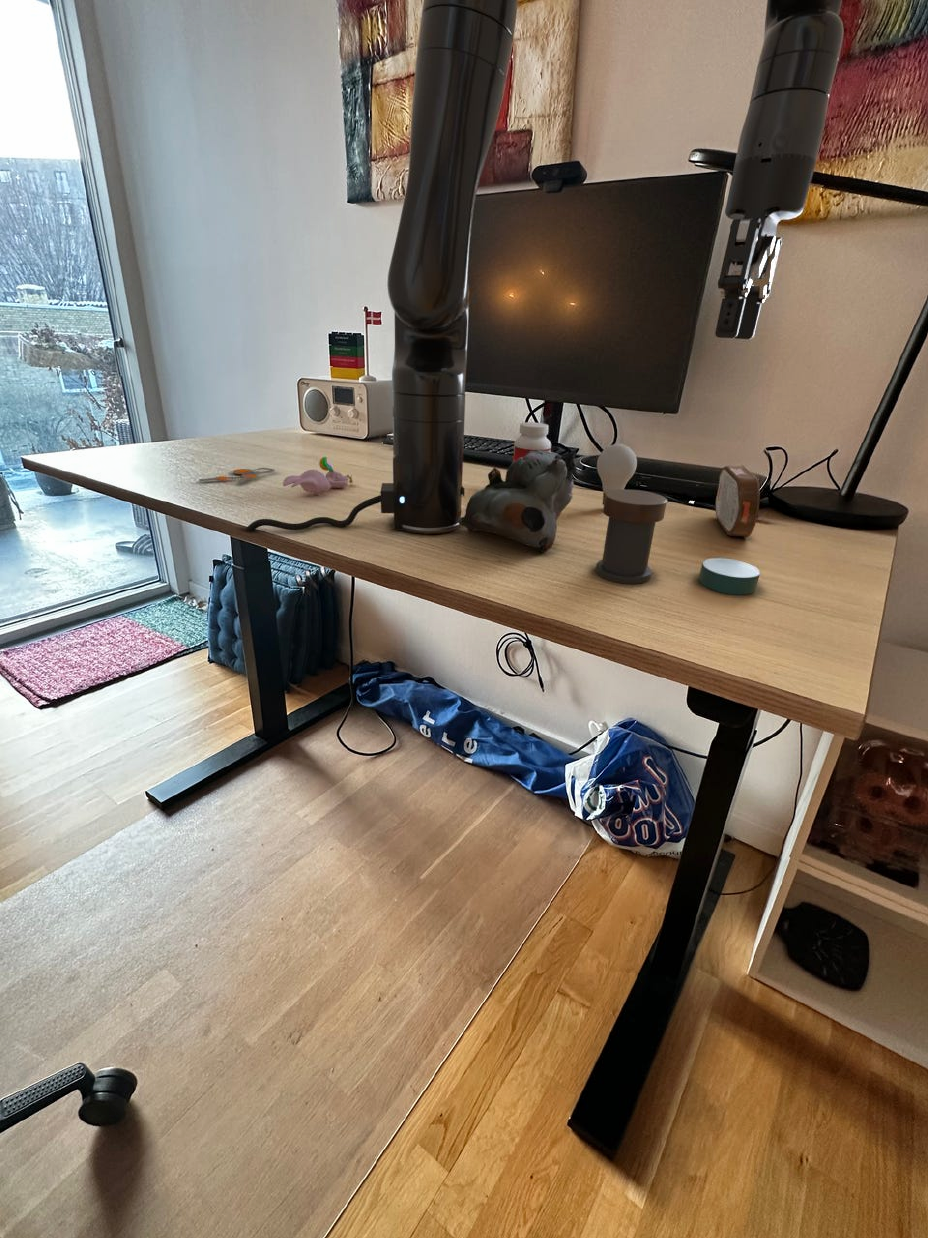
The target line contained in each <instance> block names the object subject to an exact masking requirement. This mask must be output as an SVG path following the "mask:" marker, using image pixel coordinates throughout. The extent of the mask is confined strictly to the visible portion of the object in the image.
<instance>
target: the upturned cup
mask: <svg viewBox="0 0 928 1238" xmlns="http://www.w3.org/2000/svg"><path fill="white" fill-rule="evenodd" d="M606 527H607V528H606V534H605V541H604V548H603V554H602V559H600V560H598V562H597V563H596V564H595V573H596V574H597V575H598V576H599V577H601V578H602V579H604V580H607V581H610V582H613V583H617V584H625V585H637V584H644V583H646V582H648V581H650V580H651V578H652V574H653V573H652V568H651V567H650V566H649V565H648V564H649V560H650V554H651V549H652V543H653V538H654V534H655V533H654V532H655V529H656V522H654V523H632V522H625V521H620V520H616V519H613V518H611V517H608V520H607V526H606Z"/></svg>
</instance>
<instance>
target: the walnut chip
mask: <svg viewBox="0 0 928 1238" xmlns="http://www.w3.org/2000/svg"><path fill="white" fill-rule="evenodd" d="M667 502H668V499H667V497H665V496H663V495H661V494H658V493H655V492H651V491H647V490H641V489H625V488H624V489H622V490H612V491H609V492H607V493H606V494H605V501H604V505H603V508H602V513H603V514H604V515H605V516H607V517H608V518H609V517H611V518H613V519H616V520H620V521H625V522H632V523H654V522H655V523H659V522H662V521H663V520H664V518H665V513H666V508H667V504H668V503H667Z"/></svg>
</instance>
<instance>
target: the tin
mask: <svg viewBox="0 0 928 1238" xmlns="http://www.w3.org/2000/svg"><path fill="white" fill-rule="evenodd" d="M718 479H719V480H718V487H717V493H716V497H715V501H714V502H715V504H714V505H715V507H714V508H715V516H716V520H717V521H718V522H719V524H720V526H721V527H722V528H723V531H725V533H726V534H727V535H728V536H730V537H744V538H748V537H750V536H751V535H752V533H753V532H754V529H755V527H756V523H757V520H758V515H759V509H760V501H761V500H760V499H761V495H760V494H761V490H760V482H759V479H758V477H757V475H755V474H754V473H753V472H751V470H749V469H748V467H746V465H744V464H741V465H725V466H723V468H722V469H721V470H720V473H719V478H718Z"/></svg>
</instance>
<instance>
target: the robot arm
mask: <svg viewBox="0 0 928 1238" xmlns="http://www.w3.org/2000/svg"><path fill="white" fill-rule="evenodd" d="M518 1H519V0H423V2H422V3H423V4H422V10H421V18H420V25H419V32H418V34H419V35H418V42H417V49H416V58H415V69H414V70H415V71H414V79H413V80H414V82H413V90H412V91H413V92H412V103H411V117H410V134H409V136H410V137H409V158H408V159H409V160H408V173H407V181H406V186H405V187H406V188H405V192H404V193H405V194H404V198H403V204H402V208H401V212H400V213H401V214H400V219H399V223H398V229H397V233H396V238H395V242H394V245H393V251H392V254H391V259H390V263H389V268H388V273H387V281H386V282H387V283H386V287H387V294H388V299H389V303H390V306H391V307H392V310H393V311H394V350H393V351H394V352H393V363H392V370H391V391H392V392H391V393H392V394H391V395H392V442H393V443H392V446H393V447H392V448H393V449H392V450H393V451H392V453H393V456H392V482H381V487H380V494H379V495H377V496H374V497H372V498H368V499H366V500H364V501H362V502H360V503H359V504H357V505H355V506H354V507H353V508H352V510H351V511H350V512H349V515H348V516H347V518H346V519H343V520H338V519H334V518H331V517H327V516H319V517H314V518H311V519H308V520H306V521H304V522H299V523H298V522H297V523H289V522H284V521H280V520H276V519H273V518H272V519H271V518H260V519H256V520H254V521H253V522H251V523H250V524H249V525H248V526H247V527H246V528H245V530H244V532H246V533H249V532H253V531H255V530H256V529H258V528H260V527H264V526H265V527H272V528H273V527H274V528H277V529H281V530H286V531H302V530H305V529H309V528H311V527H313V526H315V525H320V524H321V525H322V524H327V525H331V526H334V527H337V528H345V527H348V526H350V525H351V524H352V523H353V522H354V521H355V519H356V517H357V515H358V514H359V513H360V512H362V510H364V509H366V508H368V507H370V506H373V505H376V504H379V503H380V513H381V514H393V530H395V531H404V532H408V533H415V534H424V535H425V534H426V535H434V534H437V535H438V534H445V533H450V532H454V531H456V530H458V529H460V528H461V526H462V525H460V524H459V523H458V521H459V519H460V518H461V517H462V499H463V497H465V487H464V486H463V473H464V472H463V470H464V443H465V441H464V440H465V416H466V386H467V385H466V384H467V371H468V370H467V369H468V368H467V367H468V343H469V342H468V340H469V338H468V337H469V319H470V318H469V315H470V283H469V282H470V281H469V262H470V248H471V239H472V238H471V237H472V228H473V227H472V226H473V219H474V218H473V217H474V210H475V204H476V198H477V197H476V196H477V193H478V188H479V184H480V179H481V177H482V173H483V170H484V167H485V164H486V161H487V157H488V155H489V152H490V148H491V145H492V142H493V138H494V134H495V131H496V127H497V123H498V119H499V116H500V111H501V107H502V102H503V98H504V93H505V89H506V84H507V78H508V73H509V68H510V67H509V66H510V63H511V56H512V50H513V46H514V45H513V44H514V38H515V32H516V23H517V15H518V3H519V2H518ZM842 3H843V0H766V8H765V9H766V10H765V18H764V30H763V31H764V32H763V43H762V47H761V51H760V53H759V57H758V62H757V68H756V71H755V75H754V81H753V85H752V90H751V91H752V92H751V95H750V100H749V105H748V109H747V113H746V117H745V120H744V122H743V126H742V128H741V131H740V136H739V141H738V146H737V151H736V156H735V161H734V165H733V170H732V175H731V180H730V184H729V189H728V195H727V198H726V199H727V200H726V204H725V210H724V213H725V216H726V217H727V218H728V219H730V220H732V221H731V224H730V225H729V226H730V227H729V234H728V238H727V242H726V247H725V250H724V251H725V252H724V257H723V260H722V265H721V270H720V274H719V279H718V280H717V288H718V290H720V297H721V298H722V299H721V304H720V309H719V312H718V317H717V321H716V322H717V323H716V327H715V331H714V336H715V337H716V338H719V339H720V338H721V339H737V340H752V339H753V338H754V337H755V333H756V329H757V326H758V321H759V317H760V313H761V312H760V311H761V309H762V304H764V303H765V300H766V299H767V298H769V296H770V295H771V291H772V289H771V288H772V284H773V281H774V277H775V272H776V268H777V264H778V259H779V254H780V250H781V246H783V238H782V236H777V233H778V232H777V231H778V225H779V222H781V221H783V220H791V219H795V218H797V217H799V216H801V214H803V211H804V209H805V208H806V207H805V206H806V202H807V198H808V195H809V191H810V186H811V183H812V178H813V175H814V171H815V167H816V163H817V159H818V155H819V151H820V146H821V144H822V139H823V135H824V130H825V124H826V119H827V118H826V117H827V111H828V104H829V99H830V96H831V92H832V89H833V84H834V80H835V76H836V72H837V68H838V65H839V60H840V55H841V51H842V46H843V41H844V31H845V30H844V23H843V21H842V18H841V17H840V14H841V13H840V12H841V8H842Z"/></svg>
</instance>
